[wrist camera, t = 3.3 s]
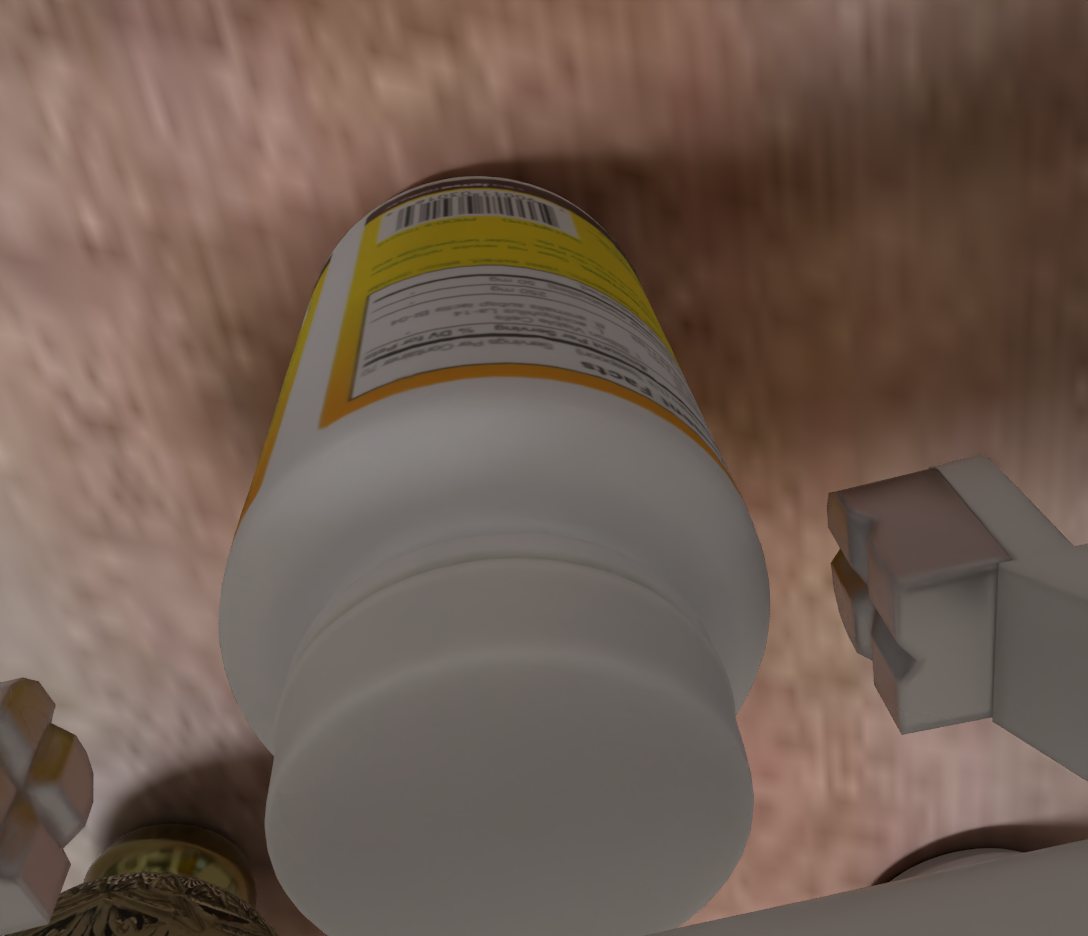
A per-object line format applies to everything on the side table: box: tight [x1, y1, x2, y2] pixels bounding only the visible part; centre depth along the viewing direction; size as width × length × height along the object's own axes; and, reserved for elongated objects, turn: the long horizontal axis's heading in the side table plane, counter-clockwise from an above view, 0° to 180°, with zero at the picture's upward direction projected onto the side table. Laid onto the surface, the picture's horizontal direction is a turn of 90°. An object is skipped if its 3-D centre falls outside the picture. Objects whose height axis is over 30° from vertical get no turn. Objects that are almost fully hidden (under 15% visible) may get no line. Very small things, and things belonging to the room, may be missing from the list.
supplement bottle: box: [219, 176, 770, 936], centre depth 12 cm, size 6×6×10 cm
